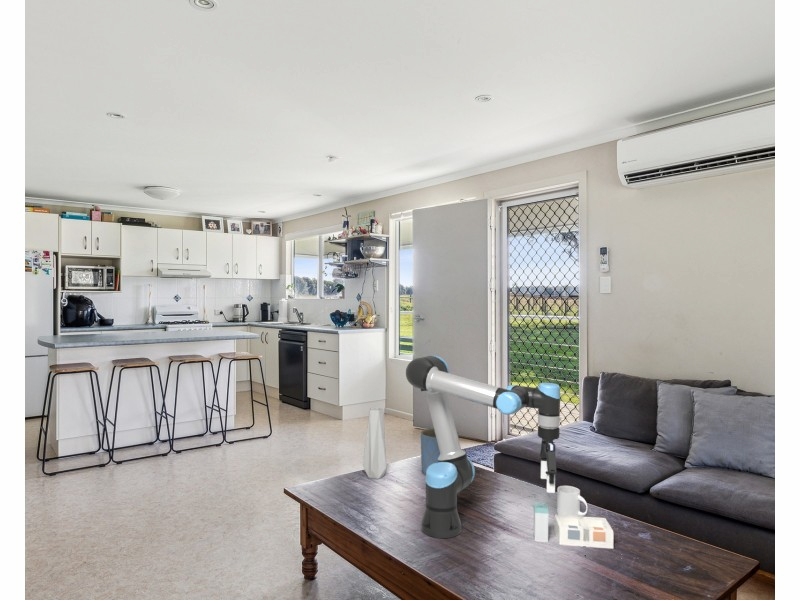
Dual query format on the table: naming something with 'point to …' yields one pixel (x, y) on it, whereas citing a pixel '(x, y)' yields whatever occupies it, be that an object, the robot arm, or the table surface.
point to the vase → (375, 445)
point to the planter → (429, 449)
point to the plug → (540, 522)
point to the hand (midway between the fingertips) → (547, 485)
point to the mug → (569, 501)
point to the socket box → (583, 531)
